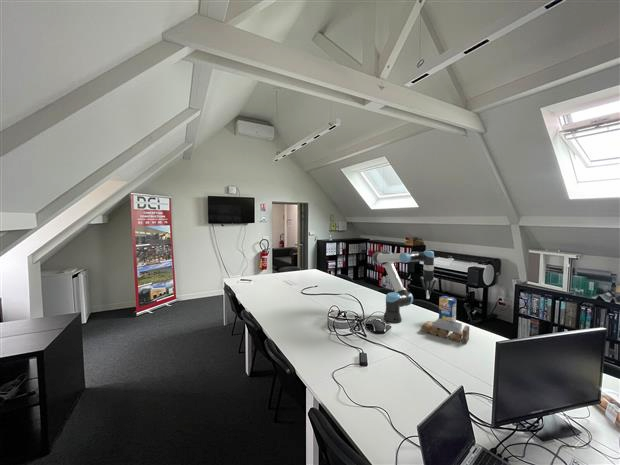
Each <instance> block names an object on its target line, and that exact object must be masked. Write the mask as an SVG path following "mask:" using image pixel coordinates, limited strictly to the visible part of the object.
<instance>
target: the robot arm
mask: <svg viewBox="0 0 620 465" xmlns="http://www.w3.org/2000/svg"><path fill="white" fill-rule="evenodd" d="M371 256H372V257H371V259H372V261H373V263H374V264H377V265H381V266H382V268H384V269H385V271H386V274H387V275H388V278H389V281H390V282H391V284H392V287H393V290H394V291H393V292H392V291H391V292H388V293H386V296H385V311H384V314H383V320H384V321H385V322H387V323H390V324H400V323H402V320H403V319H402V318H403V317H402V316H401V312H400V308H402V307H408V306H410V305H411V304H413V302H414V296H413V294H412V293H411V292H410V291H408V289H407V288H405V287H404V285H403V283H402V280H401V277H400V276H399V274H398V272H397V270H396V267H395V263H404V264H405V263H411V262H412V263H413V262H422V263H423V271H422V272H423V274H422V276H420V277H419V280H420V282H421V286H422V290H424V294H425V295H426V296H425V297H426V298H425V299H427V300H429V299H430V295H431V294H432V292H431V291H434V289H435V285H436V283H437V281H438V279H437V278H436V277H435V276H434V270H435V266H434V261H435V252H434V251H433V250H424V251H423V252H421V251H412V252H403V253H402V252H400V253H399V252H398V253H394V252H392V251H388V250H385V251H376V252H374V253H373V254H372V255H371ZM432 281H433V282H432Z"/></svg>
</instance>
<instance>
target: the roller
mask: <svg viewBox="0 0 620 465" xmlns="http://www.w3.org/2000/svg"><path fill="white" fill-rule="evenodd" d="M451 333H452V334H451V336H450V338H449V339H451V341H453V342H455V343H458V342H460V340H461V338H462V333H463V329H461V330H460V332H459V333H455V332H451Z"/></svg>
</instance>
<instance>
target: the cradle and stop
mask: <svg viewBox="0 0 620 465" xmlns="http://www.w3.org/2000/svg"><path fill="white" fill-rule="evenodd" d="M462 332H463V333H462V337H461V339H460V340H459V343H462V344H464V345H467V343H468V342H469V340H470V325H465V326H464V327H463V329H462ZM452 333H453V332H449V333H448V335H447V336H446V339H447V340H449V339H451V338H450V336H451V334H452Z"/></svg>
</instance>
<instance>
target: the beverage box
mask: <svg viewBox="0 0 620 465" xmlns="http://www.w3.org/2000/svg"><path fill="white" fill-rule="evenodd" d="M438 298H439V300H438V302H439V303H438V318H441V319H445V320H449V321H453V322H456V321H457V320H456V319H457V298H456V297H450V296H446V295H442V296H439V297H438Z"/></svg>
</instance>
